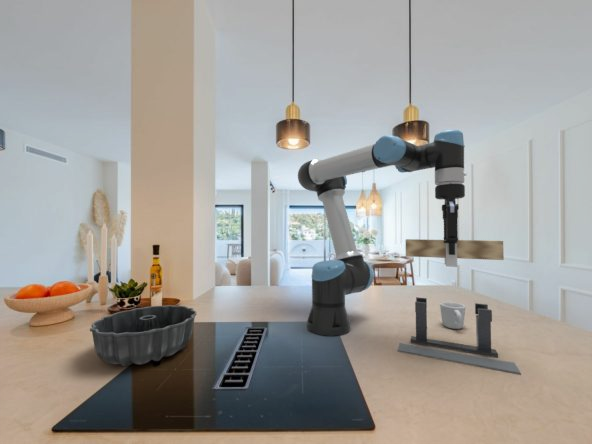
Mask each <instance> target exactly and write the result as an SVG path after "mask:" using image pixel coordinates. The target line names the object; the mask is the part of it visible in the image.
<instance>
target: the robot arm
mask: <svg viewBox="0 0 592 444" xmlns="http://www.w3.org/2000/svg"><path fill="white" fill-rule="evenodd" d="M433 139H434V140H433V142H429V143H426V144H422V145H421V144H420V145H416V144H414V143H412V142H409V141H407V140H405V139H403V138H400V137H399V136H397V135H391V134H386V135H382V136H380V137H379V138H378V139H377V140H376V141H375V143H374V144H373V143H372V144H370V145H366V146H363V147H361V148H357V149H354V150H350V151H348V152H343V153H341V154H337V155H333V156H331V157H328V158H327V157H326V158H325V159H319V158H315V159H312V160H308V161H306V162H305V163H303V164H302V165H300V167H299V169H298V172H297V180H298V183H299V184H300V186H301V187H302V188H303V189H305V190H308V191H310V192H315V193H316V195H317V199H318V201H320V202H322V206H323V209H324V213H325V217H326V220H327V221H326V222H327V225H328V229H329V233H330V237H331V241H332V244H333V248H334V253H335V258H334V259H329V260H321V261H318V262H316V263H315V264H313V266H312V271H311V272H312V273H311V308H310V311H309V314H308V317H307V321H306V328H307V330H308V331H309V332H311V333H314V334H316V335H319V336H330V337H334V336H342V335H346V334H347V333H349V332H350V331H351V321H350V318H349V315H348V312H347V309H346V296H347V295H351V294H356V293H361V292H363V291H366V290H368V289H369V288H370V286H372V284H373V282H374V281H373V280H374V269H373V268H372V266H371V265H370V264H369V263H368V262H366V261H365V260H364V256H363V254H362V253H360V252H359V251H358V249H357V246H356V242H355V237H354V235H353V234H354V233H353V230H352V227H351V223H350V219H349V216H348V212H347V208H346V205H345V200H344V195H345V191H346V188H347V186H346V185H347V184H348V178H347V176H350V175H354V174H359V173H363V172H367V171H371V170H375V169H376V170H377V169H381V168H387V167H389V166H390V167H391V166H394V167H395V169H396V170H397V171H398V172H399V173H413V172H416V171H421V170H428V169H434V185H436V186H435V187H434V196H435V197H434V198H435V199H436V200H444V204H442V205H441V211H442V220H443V240H446V241H443V242H444V243H446V258H444V265H445V267H453V268H457V267H458V258H457V241H458V240H459V236H458V233H459V232H458V218H459V215H458V214H459V213H458V211H459V203H456V201H457V200H459V199H463V198H464V197H465V195H466V194H465V193H466V189H465V188H466V187H465V185H464V183H465V176H468V175H467V174H468V173H467V172H464V171H465V143H464V142H465V141H464V133H463V132H462V131H461V130H459V129H447V130H442V131H440V132H437V133H436V134H435V135H434V138H433Z"/></svg>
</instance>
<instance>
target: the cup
mask: <svg viewBox="0 0 592 444" xmlns="http://www.w3.org/2000/svg"><path fill="white" fill-rule="evenodd" d="M439 305H440V306H439V307H440V308H439V309H440V315H441V321H442V325H443V326H444V327H446V328H448V329H453V330H462V328H463V327H464V325H465V315H466V306H465V304H463V303H459V302H454V301H443V302H440V303H439Z"/></svg>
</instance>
